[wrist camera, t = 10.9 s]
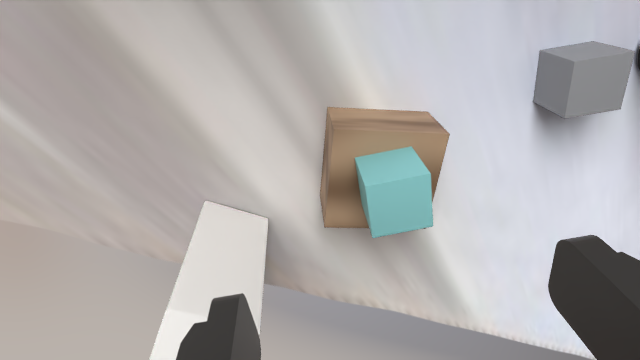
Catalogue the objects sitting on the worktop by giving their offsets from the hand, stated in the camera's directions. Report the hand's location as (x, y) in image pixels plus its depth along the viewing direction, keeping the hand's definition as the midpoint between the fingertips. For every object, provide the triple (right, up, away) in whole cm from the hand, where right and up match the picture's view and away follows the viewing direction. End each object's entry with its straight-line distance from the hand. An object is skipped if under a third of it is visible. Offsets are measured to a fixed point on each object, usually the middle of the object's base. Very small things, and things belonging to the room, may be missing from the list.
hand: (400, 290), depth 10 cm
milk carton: (-12, -3, +33) cm, 35 cm away
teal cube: (+4, +3, +24) cm, 25 cm away
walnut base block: (+3, +5, +30) cm, 30 cm away
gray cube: (+21, +13, +27) cm, 37 cm away
